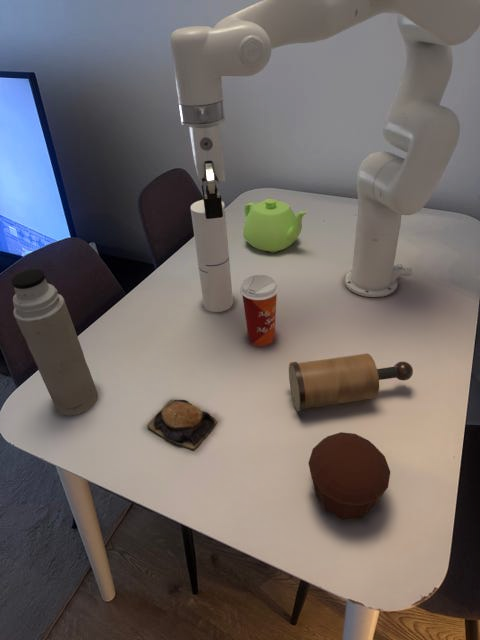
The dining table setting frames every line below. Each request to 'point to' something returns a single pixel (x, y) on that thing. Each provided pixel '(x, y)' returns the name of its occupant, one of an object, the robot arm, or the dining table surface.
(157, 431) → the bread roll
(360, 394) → the paper towel holder
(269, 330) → the paper cup
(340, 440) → the muffin
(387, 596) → the dining table surface
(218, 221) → the cylindrical container
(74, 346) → the thermos bottle
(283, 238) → the teapot
